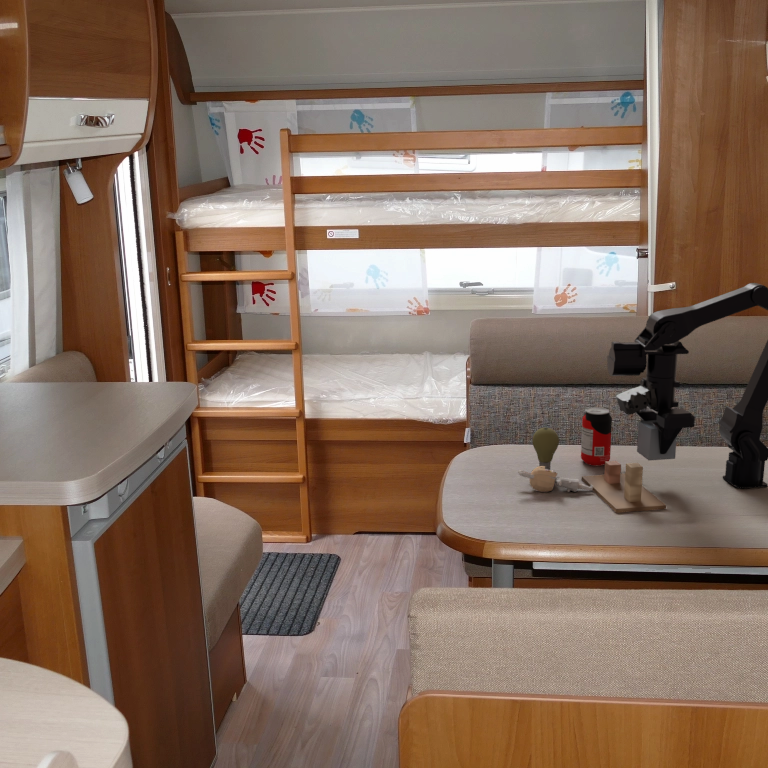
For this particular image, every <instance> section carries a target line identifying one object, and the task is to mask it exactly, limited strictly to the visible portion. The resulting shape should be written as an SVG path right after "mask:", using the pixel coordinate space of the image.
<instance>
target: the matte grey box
mask: <svg viewBox="0 0 768 768" xmlns="http://www.w3.org/2000/svg"><path fill="white" fill-rule="evenodd" d="M652 422H657V420H652V421H641V420H639V421H638V428H637V444H636V448H637V449H636V452H637V453H638V454H640V455H641V456H642V457H643V458H645V459H646V460H647V461H660V460H661V461H663V460H664V461H665V460H675V459H676V455H677V454H676V453H677V438H678V436H677V437H676V438H675V440H674V441H673V443H672V445H671V446H670V448H669V450H668V451H667V453H666V454H660V448H659V433H658V429H657V428H656V427H655V426H654V425H653V423H652Z"/></svg>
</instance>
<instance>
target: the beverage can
mask: <svg viewBox="0 0 768 768" xmlns="http://www.w3.org/2000/svg"><path fill="white" fill-rule="evenodd" d="M584 410H585V412H584V414H583V416H582V421H581V440H580V441H581V445H580V447H581V448H580V458H581V460H582V461H583V462H584V464H586V465H589V466H594V467H595V466H596V467H600V466H601V467H602V466H605V461H611V451H612V450H611V449H612V448H611V446H612V423H613V418H612V416H611V414H610V409H608V408H604V407H599V406H598V407H595V406H594V407H593V406H592V407H588V408H586V409H584Z"/></svg>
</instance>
